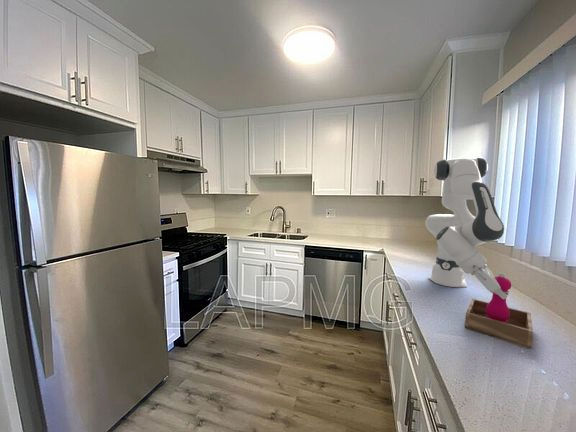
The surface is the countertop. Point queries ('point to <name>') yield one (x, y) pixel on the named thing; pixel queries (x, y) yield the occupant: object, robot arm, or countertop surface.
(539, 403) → the countertop surface
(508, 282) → the pepper mill
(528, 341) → the tray
